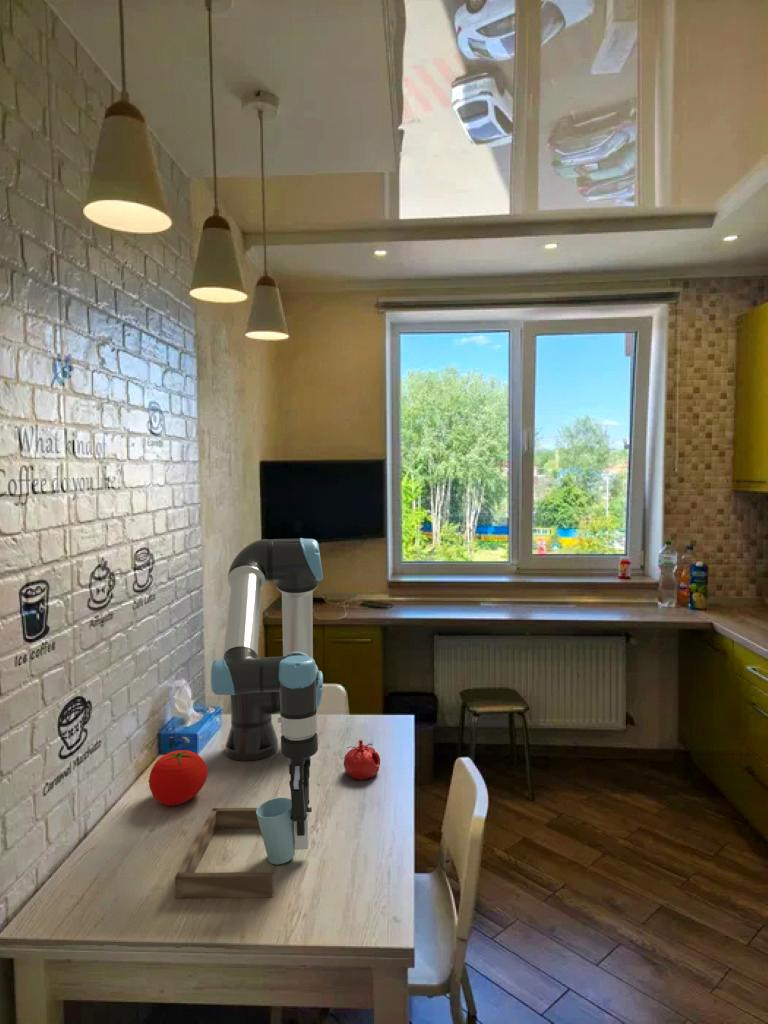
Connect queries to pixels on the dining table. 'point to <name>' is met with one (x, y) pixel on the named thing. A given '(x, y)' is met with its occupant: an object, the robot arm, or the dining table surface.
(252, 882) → the corral
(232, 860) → the dining table surface
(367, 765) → the pomegranate
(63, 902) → the dining table surface
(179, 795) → the tomato
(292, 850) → the cup
